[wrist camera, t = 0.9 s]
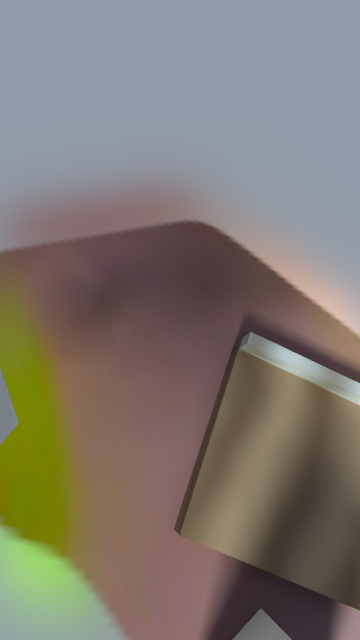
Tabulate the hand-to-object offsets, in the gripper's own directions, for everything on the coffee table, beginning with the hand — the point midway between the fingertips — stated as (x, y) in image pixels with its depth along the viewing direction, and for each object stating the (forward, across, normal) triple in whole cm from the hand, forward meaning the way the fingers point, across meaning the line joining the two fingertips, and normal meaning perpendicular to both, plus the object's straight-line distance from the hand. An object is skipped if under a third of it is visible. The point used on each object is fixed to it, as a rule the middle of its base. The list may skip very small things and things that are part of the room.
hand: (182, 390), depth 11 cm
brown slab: (+10, +6, -13) cm, 18 cm away
